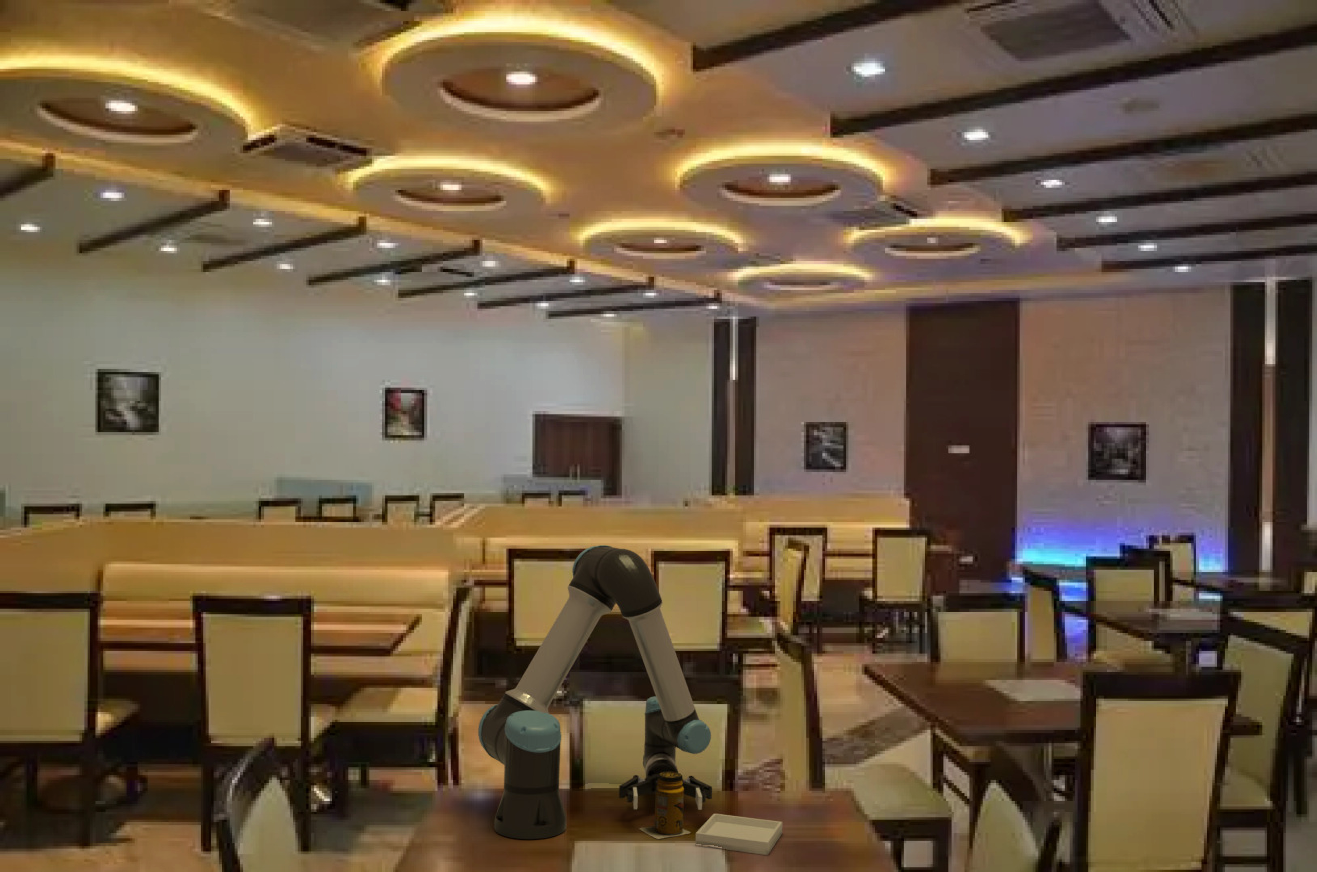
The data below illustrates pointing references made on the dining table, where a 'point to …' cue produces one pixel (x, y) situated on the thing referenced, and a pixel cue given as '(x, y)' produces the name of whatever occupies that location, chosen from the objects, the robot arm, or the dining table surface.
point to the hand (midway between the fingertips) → (668, 802)
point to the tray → (740, 833)
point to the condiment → (668, 807)
